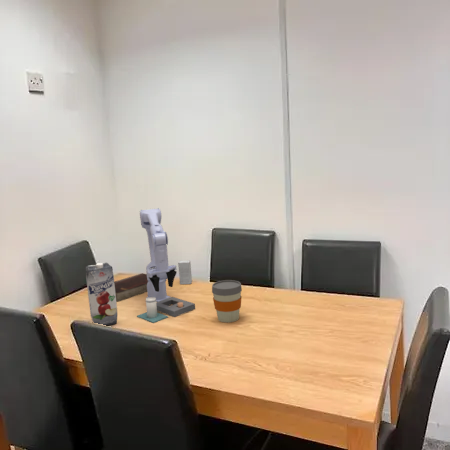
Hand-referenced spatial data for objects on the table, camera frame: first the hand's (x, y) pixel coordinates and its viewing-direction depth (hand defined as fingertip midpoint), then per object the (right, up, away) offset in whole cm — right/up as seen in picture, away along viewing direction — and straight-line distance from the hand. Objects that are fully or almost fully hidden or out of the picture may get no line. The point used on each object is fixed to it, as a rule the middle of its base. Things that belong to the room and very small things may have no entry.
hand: (163, 288), depth 210 cm
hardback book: (-22, -6, +34) cm, 41 cm away
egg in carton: (+8, -10, 0) cm, 12 cm away
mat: (-4, -12, -5) cm, 13 cm away
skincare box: (+7, -3, +41) cm, 42 cm away
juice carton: (-24, -14, -9) cm, 29 cm away
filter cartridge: (-4, -11, -5) cm, 13 cm away
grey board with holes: (+4, -10, +3) cm, 11 cm away
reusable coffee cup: (+29, -11, -11) cm, 33 cm away
